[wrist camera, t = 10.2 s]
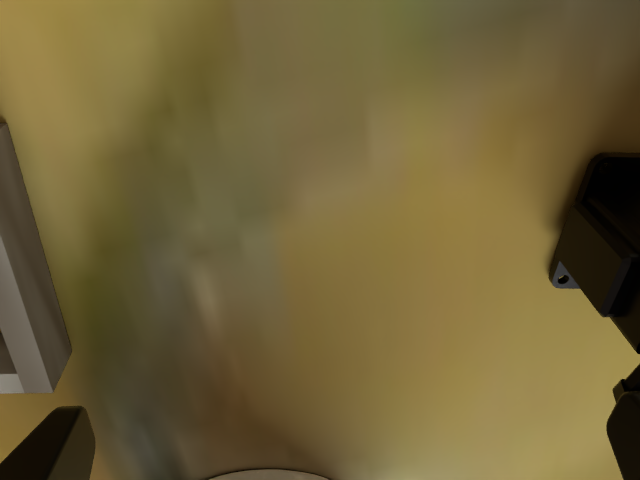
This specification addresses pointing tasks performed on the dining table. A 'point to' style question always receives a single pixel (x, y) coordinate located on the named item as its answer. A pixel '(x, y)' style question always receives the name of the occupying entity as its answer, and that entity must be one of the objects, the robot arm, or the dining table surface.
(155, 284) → the dining table surface
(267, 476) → the utensil holder
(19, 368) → the grey frame stand
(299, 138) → the dining table surface
